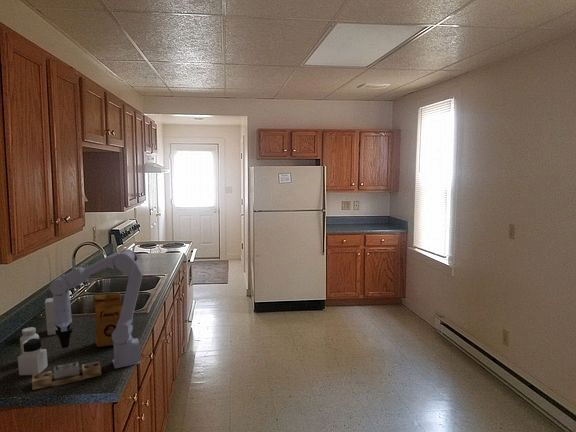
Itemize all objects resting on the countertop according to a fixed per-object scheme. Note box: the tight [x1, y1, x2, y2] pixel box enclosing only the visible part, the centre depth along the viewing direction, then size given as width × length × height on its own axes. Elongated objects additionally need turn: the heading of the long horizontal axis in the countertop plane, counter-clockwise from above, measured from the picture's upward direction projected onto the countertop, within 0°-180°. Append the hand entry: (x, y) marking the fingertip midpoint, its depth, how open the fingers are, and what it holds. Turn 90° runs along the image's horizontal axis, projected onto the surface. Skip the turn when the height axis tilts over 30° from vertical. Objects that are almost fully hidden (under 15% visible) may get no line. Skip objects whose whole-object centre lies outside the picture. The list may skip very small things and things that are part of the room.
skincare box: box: [44, 297, 58, 336], centre depth 206 cm, size 8×7×16 cm
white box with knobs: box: [53, 361, 81, 381], centre depth 161 cm, size 8×4×6 cm, turn 118°
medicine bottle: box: [17, 338, 49, 376], centre depth 167 cm, size 7×7×12 cm
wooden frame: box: [31, 360, 102, 391], centre depth 161 cm, size 22×7×3 cm, turn 118°
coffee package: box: [93, 292, 122, 348], centre depth 191 cm, size 10×12×22 cm
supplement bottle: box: [19, 326, 40, 355], centre depth 176 cm, size 7×7×13 cm
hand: (64, 343), depth 169 cm, fingers open, 7 cm apart
